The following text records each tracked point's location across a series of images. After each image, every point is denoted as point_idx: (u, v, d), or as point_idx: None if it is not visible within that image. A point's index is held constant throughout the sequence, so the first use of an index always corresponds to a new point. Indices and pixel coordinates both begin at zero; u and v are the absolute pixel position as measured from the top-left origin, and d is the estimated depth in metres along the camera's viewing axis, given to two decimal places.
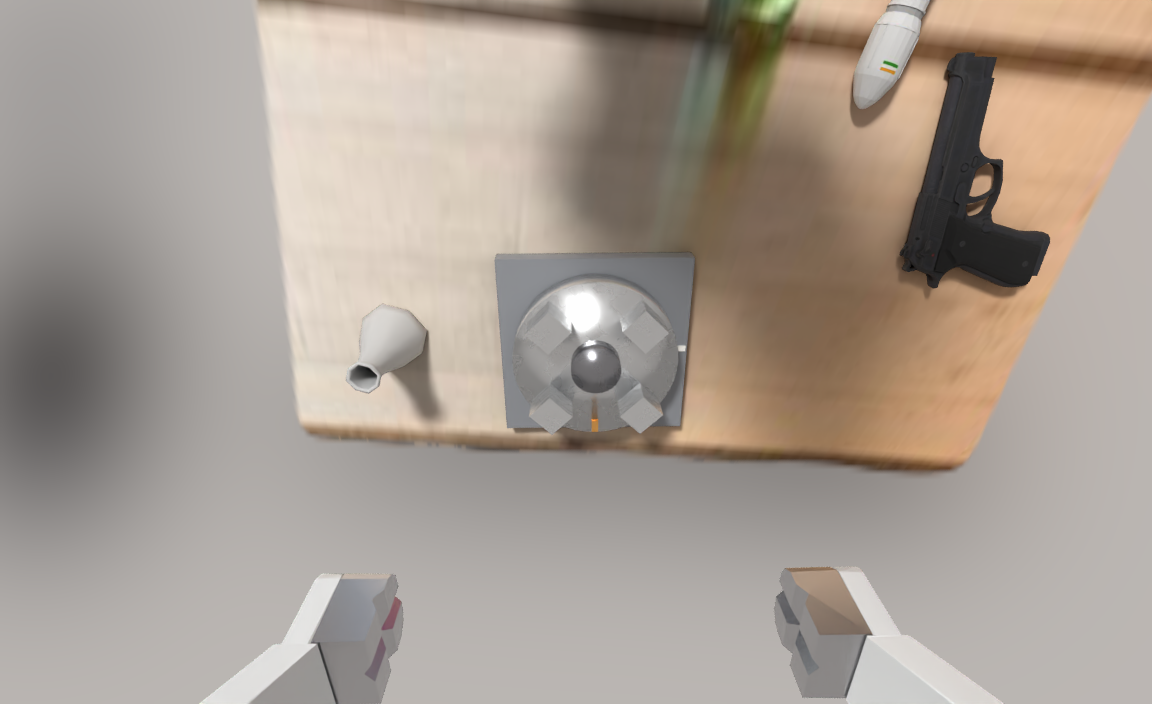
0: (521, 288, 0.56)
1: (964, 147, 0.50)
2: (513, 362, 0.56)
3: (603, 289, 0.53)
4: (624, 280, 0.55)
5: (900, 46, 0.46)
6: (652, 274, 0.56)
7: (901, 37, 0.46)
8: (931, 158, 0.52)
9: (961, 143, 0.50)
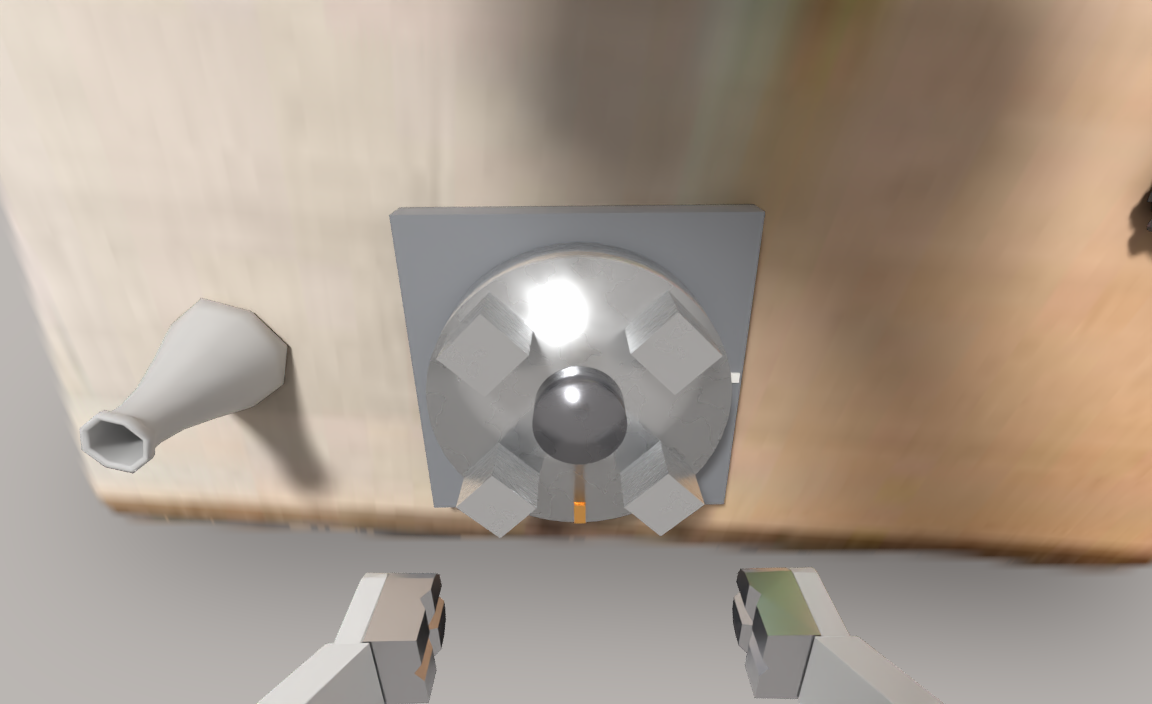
0: (444, 270, 0.31)
1: None
2: (428, 406, 0.31)
3: (593, 270, 0.27)
4: (633, 254, 0.29)
5: None
6: (684, 244, 0.30)
7: None
8: None
9: None
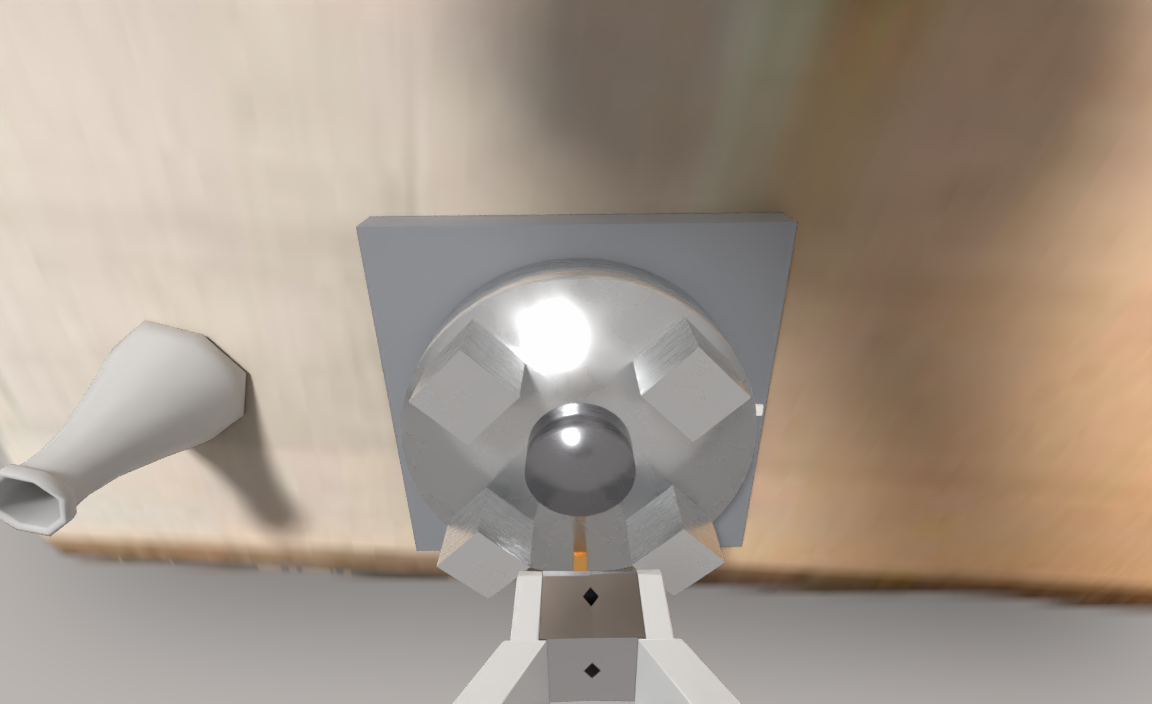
0: (421, 290, 0.26)
1: None
2: (404, 447, 0.26)
3: (596, 294, 0.23)
4: (642, 272, 0.25)
5: None
6: (702, 260, 0.26)
7: None
8: None
9: None
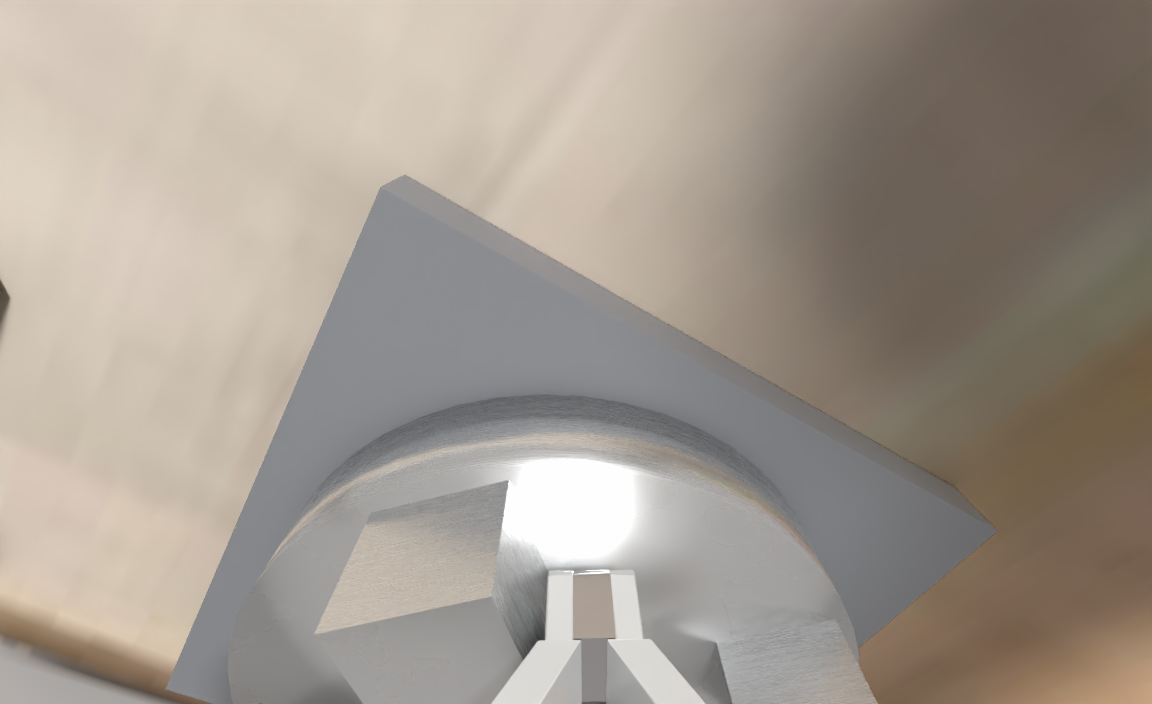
0: (429, 348, 0.14)
1: None
2: (243, 613, 0.13)
3: (738, 536, 0.13)
4: (780, 498, 0.15)
5: None
6: (856, 515, 0.16)
7: None
8: None
9: None
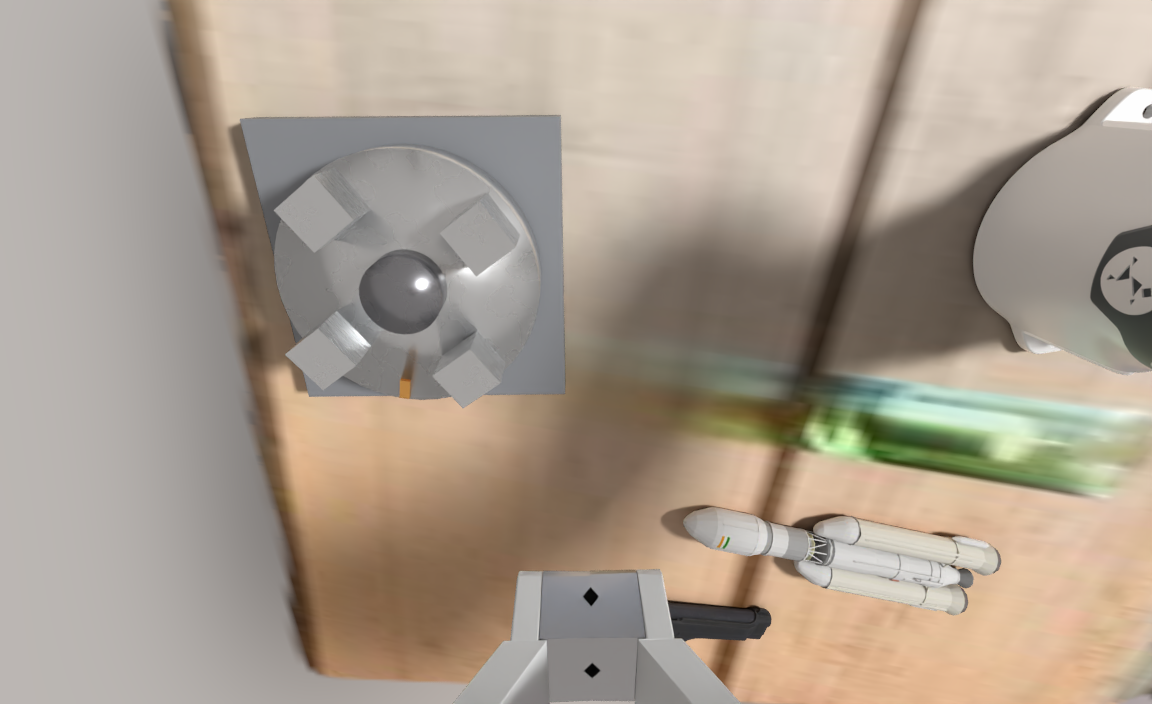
0: (513, 160, 0.36)
1: (695, 632, 0.55)
2: (275, 266, 0.35)
3: (425, 164, 0.33)
4: (469, 163, 0.35)
5: (740, 546, 0.49)
6: (541, 346, 0.41)
7: (748, 545, 0.49)
8: (687, 607, 0.55)
9: (699, 630, 0.55)
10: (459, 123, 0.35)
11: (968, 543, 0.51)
